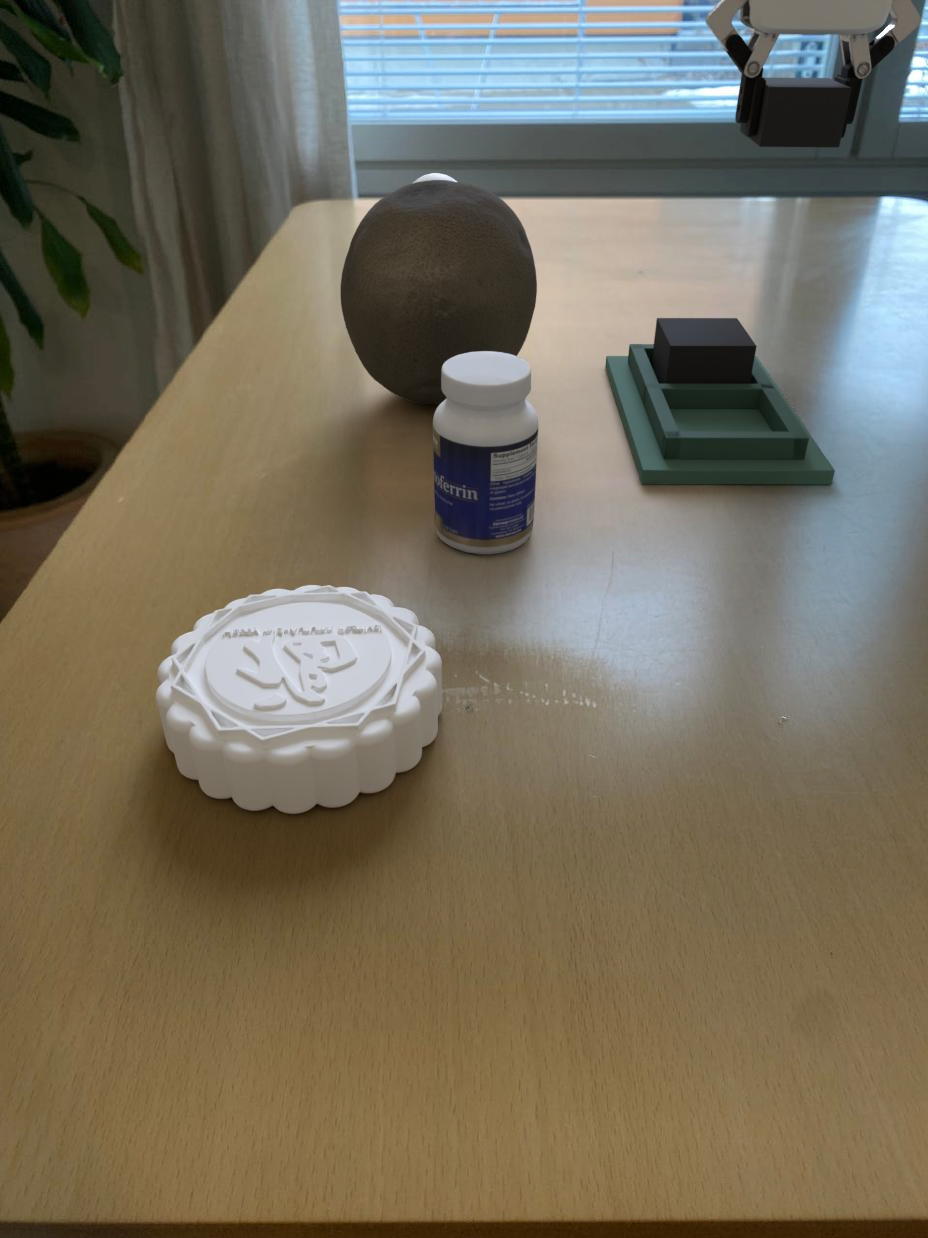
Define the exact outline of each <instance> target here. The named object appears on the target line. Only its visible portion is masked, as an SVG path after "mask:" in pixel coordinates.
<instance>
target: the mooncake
mask: <svg viewBox="0 0 928 1238" xmlns="http://www.w3.org/2000/svg"><path fill="white" fill-rule="evenodd" d="M419 622H420V621H419V618H418V616H417V615H416V614H415V613H414V612H413V611H412V610H410V609H408V608H405V607H402V606H401V607H400V606H395V605H394V603H393V602H392V600H390V598H388V597H386V596H384V595H381V594H375V593H374V594H373V593H371V594H369V593H368V591H359V590H358V589H356V588H354V587H349V586H338V587H335V586H332V585H330V584H327V585H323V586H321V585H317V584H306V585H303V586H299V587H297V588H295V589H293V590H289V589H286V588H274V589H273V588H272V589H268V590H266V591H263V592H262V593H260V594H249V595H248V596H246V597H243V598H238V599H234V600H232V601H231V602H229V603H228V604H226V605H225V606H224V608H220V609H215V610H214V611H213V612H211V613H208V614H206V615H203V616H201V618H199V619H198V620H197V621H196V622H194V625H193V628H192V631H189V632H185V633H184V634H181V635H180V636H178V637H177V638H175V640H174V641H173V642H172V644H171V647H170V656H168V657H166V658H165V659H163V661H162V662H161V663H160V664H159V666H158V669H157V679H158V683H159V686H158V687H157V689H156V692H155V702H156V706H157V710H158V711H157V712H158V714H159V718H160V723H161V726H162V730H163V734H164V738H165V743H166V745H167V747H168V749H169V751H171V753H173V754H174V759H175V763H176V767H177V769H178V771H179V773H180V774H181V775H182V776H183V777H185V778H187V779H190V780H193V781H198V784H199V788H200V790H202V792H203V793H204V794H205V795H207V796H208V797H210V798H213V799H217V800H227V799H230V798H232V800H233V802H234V803H235V804H236V805H237V806H238V807H239V808H241V809H242V810H246V811H252V812H255V811H256V812H257V811H263V810H266V809H269V808H271V807H274V808H275V809H276V810H277V811H279V812H282V813H284V814H289V815H298V814H303V813H305V812H307V811H309V810H311V809H313V808H314V807H315V806H316V805H319V806H321V807H324V808H331V809H332V808H333V809H334V808H335V809H336V808H341V807H344V806H346V805H349V804H350V803H352V802H353V801H354V800H355V799H357V797H358V795H359V794H360V793H361V794H375V793H379V792H381V791H384V790H385V789H387V788H388V787H390V785H392V783H393V782H394V779H395V778H396V774H399V773H405V772H408V771H410V770H411V769H413V768H415V767H416V766H417V765H418V764H419V762H420V761H421V759H422V755H423V748H425V747H428V746H429V745H430V744H431V743H433V741H434V740H435V739H436V737H437V735H438V734H439V733H438V732H439V716H440V714H441V713H442V710H443V662H442V661H443V660H442V657H441V655H440V654H439V652H438V651H437V650H436V638H435V635H434V634H433V632H432V631H431V630H430V629H429V628H427V627H425V626H423V625H421V624H420V623H419Z"/></svg>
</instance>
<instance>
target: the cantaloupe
mask: <svg viewBox="0 0 928 1238" xmlns="http://www.w3.org/2000/svg"><path fill="white" fill-rule="evenodd" d="M526 232H527V231H526V229H525V227H524V225H523V224H522V221H521V220H520V218H519V217H518V215H517V214H516V212H515V211H514V210H513V209H512V208H511V207H510V206H509V205H508V204H507V202H506V201H504V199H502V198H500V197H499V196H498V195H497V194H495V193H494V192H493V191H492V192H491V191H489V190H488V189H486V188H483V187H480V186H476V185H474V184H469V183H466V182H459V181H457V182H454V181H448V180H430V181H422V182H416V183H413V182H412V183H409V184H405V185H404V186H401V187H399V188H397V189H396V190H394V191H392V192H391V193H389V194H387V195H386V196H384V197H382V198H380V199H379V200H378V201H376V203H374V204H373V205H372V207H370V209H369V210H368V211H367V213H366V214H365V215H364V216H363V217H362V219H361V220H360V222H359V224H358V226H357V227H356V229H355V232H354V234H353V236H352V238H351V240H350V244H349V248H348V251H347V253H346V256H345V259H344V263H343V267H342V272H341V279H340V306H341V312H342V317H343V321H344V325H345V327H346V331H347V334H348V337H349V340H350V342H351V345H352V346H353V347H352V348H353V349H354V351H355V353H356V355H357V358H358V359H359V361H360V363H361V365H362V366H363V368H364V370H365V371H366V372H367V373H368V375H369V376H370V377H371V378H372V379H373V380H374V381H375V382H376V383H378V384H379V385H380V386H382V387H383V388H384V389H386V390H388V391H389V392H390V393H392V394H394V395H395V396H397V397H399V398H401V399H404V400H406V401H408V402H410V403H415V404H421V405H440V404H441V403H442V402H443V401H444V400H445V399H446V396H445V395H444V393H443V392H442V389H441V370H442V366H443V364H444V363H445V362H446V361H447V360H448V359H450V358H452V357H454V356H457V355H460V354H464V353H469V352H478V351H493V352H502V353H507V354H511V355H515V356H517V357H518V355H519V353H520V352H521V350H522V349H523V346H524V344H525V342H526V340H527V337H528V334H529V332H530V328H531V324H532V321H533V317H534V312H535V309H536V303H537V295H538V294H537V293H538V281H537V279H538V278H537V269H536V265H535V259H534V254H533V250H532V246H531V244H530V243H531V242H530V241H529V238H528V236H527V233H526Z"/></svg>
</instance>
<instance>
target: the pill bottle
mask: <svg viewBox="0 0 928 1238" xmlns="http://www.w3.org/2000/svg"><path fill="white" fill-rule="evenodd" d="M441 389H442V392H443V393H444V395H445V396H446V399H445V400H444V401H443V402H442V403H441V404H438V406H437V407H436V409H435V411H434V413H433V418H432V457H433V459H432V460H433V463H432V464H433V468H432V469H433V471H432V473H433V509H434V512H433V513H434V516H433V517H434V527H435V532H436V535H437V536H438V537H439V538H440V540H441V541H442V542H443V543H444V544H446V545H448V546H449V547H451V548H453V549H455V550H458V551H461V552H463V553H464V552H465V553H468V554H474V555H475V554H476V555H497V554H503V553H506V552H509V551H512V550H515V549H517V548H518V547H521V546H522V545H524V543H526V542H527V540H528V539H529V538H530V536H531V535H532V532H533V529H534V521H535V507H536V505H535V504H536V483H537V464H538V443H539V440H538V439H539V416H538V414H537V411H536V410H535V408H534V406H533V405H532V404H531V402H529V401H528V400H526V399H527V397H528V396H529V395H530V393H531V390H532V367H531V365H530V364H529V363H528V361H526V360H525V359H524V358H522V357H519V356H518V355H517V356H515V355H511V354H507V353H502V352H493V351H478V352H469V353H464V354H460V355H457V356H454V357H452V358H450V359H448V360H447V361H446V362H445V363H444V364H443V366H442V370H441Z"/></svg>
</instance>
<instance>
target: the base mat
mask: <svg viewBox="0 0 928 1238" xmlns="http://www.w3.org/2000/svg"><path fill="white" fill-rule="evenodd" d="M628 345H629V346H628V354H627V355H606V356H605V366H604V368H605V371H606V375H607V377H608V381H609V383H610V387H611V391H612V393H613V396H614V397H613V398H614V400H615V402H616V407H617V409H618V413H619V416H620V419H621V422H622V426H623V429H624V432H625V435H626V438H627V441H628V444H629V445H628V446H629V448H630V451H631V454H632V458H633V461H634V465H635V467H636V471H637V474H638V477H639V480H640V483H641V485H832V484H833V482H834V478H835V473H836V470H835V468H834V467H833V466H832V464H831V462H830V460H828V458H827V457H826V455H825V454H824V452H823V451H822V449H821V447H820V446H819V445H818V443H817V442H816V440H815V439H814V438H813V436H812V435H811V432H809V430H808V429H807V427H806V426H805V425H804V423H803V422H802V420H801V419H800V417H799V416H798V414H797V413H796V411H795V410H794V408H793V407H792V406H791V404H790V403H789V401H788V400H787V398H786V396H784V394H783V392H782V390H780V387H778V385H777V384H776V382H775V381H774V379H773V378H772V377H771V375H770V373H769V372H768V370H767V369H766V368H765V366H764V364H763V363H762V362H761V359H759V357H758V356H757V355H755V358H754V363H753V369H752V374H751V380H750V384H659V383H658V380H657V378H656V376H655V373H654V371H653V368H652V366H651V363H652V355H653V347H654V343H629V344H628Z"/></svg>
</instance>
